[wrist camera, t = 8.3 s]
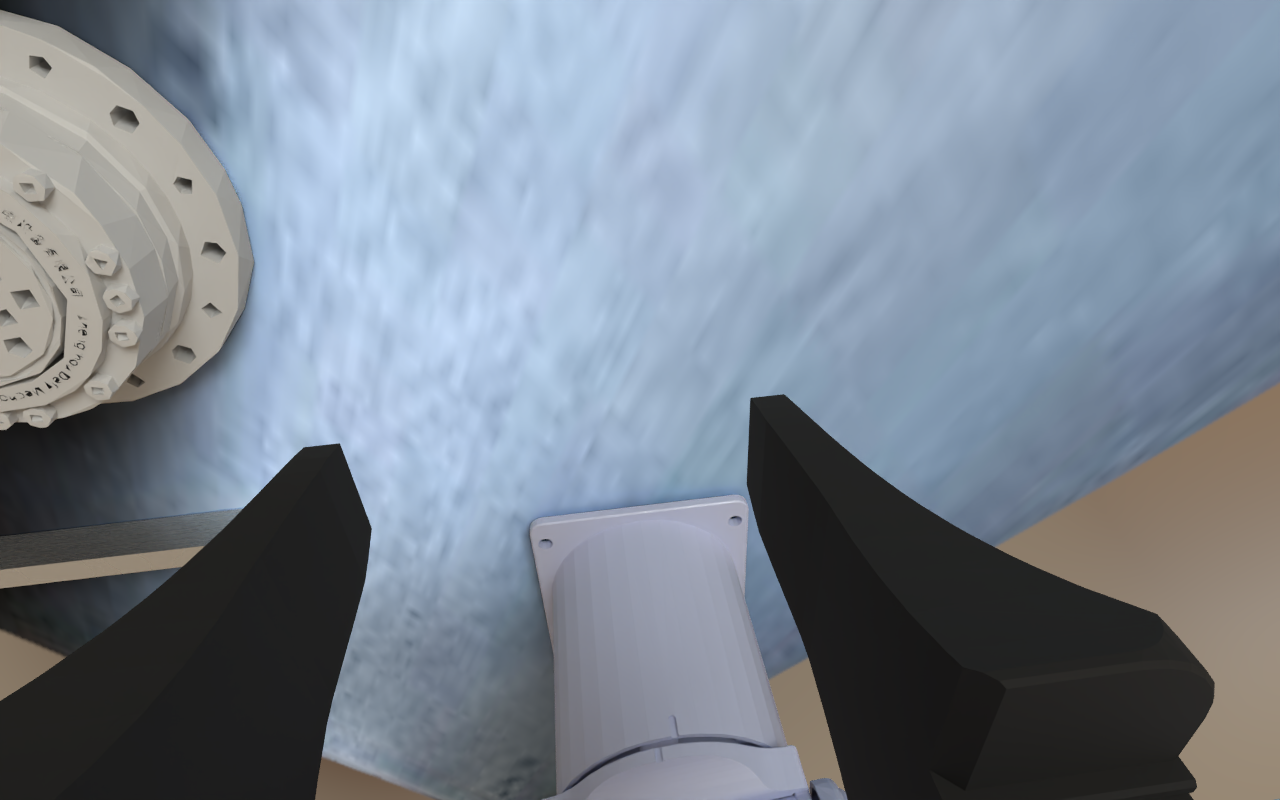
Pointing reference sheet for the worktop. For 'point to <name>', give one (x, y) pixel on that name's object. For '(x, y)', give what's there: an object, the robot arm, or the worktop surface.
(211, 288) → the mechanical component
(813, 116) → the worktop surface
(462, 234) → the worktop surface
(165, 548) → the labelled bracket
